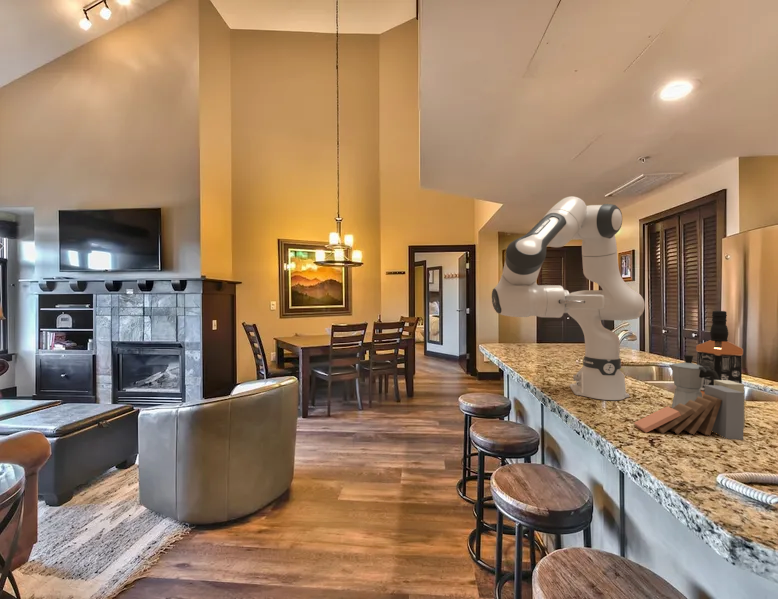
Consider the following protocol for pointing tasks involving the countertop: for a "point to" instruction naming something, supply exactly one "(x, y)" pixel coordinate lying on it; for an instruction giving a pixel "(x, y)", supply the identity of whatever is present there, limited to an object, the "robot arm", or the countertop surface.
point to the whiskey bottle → (720, 352)
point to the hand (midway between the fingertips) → (607, 301)
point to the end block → (728, 411)
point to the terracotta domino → (657, 419)
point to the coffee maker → (689, 380)
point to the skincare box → (731, 387)
